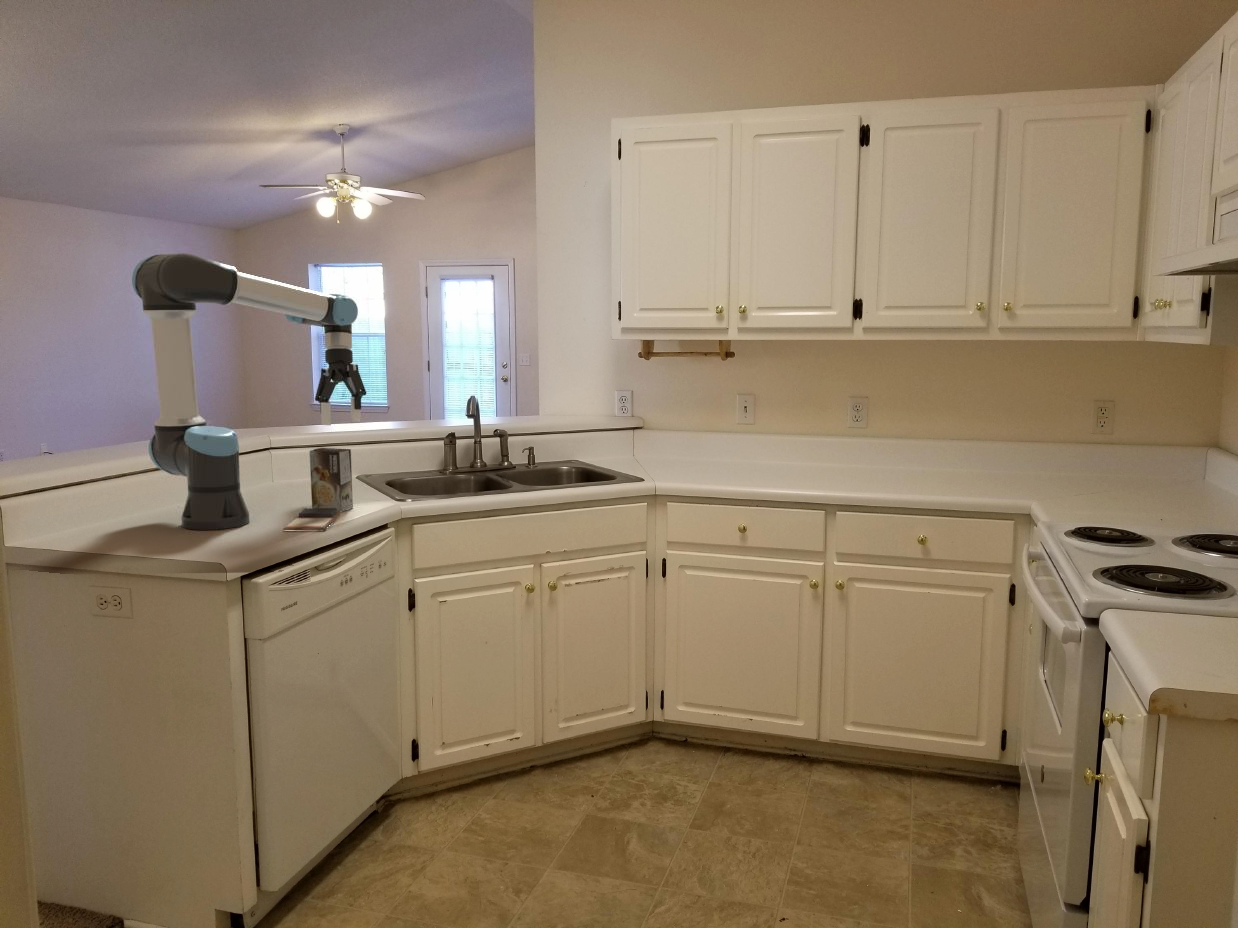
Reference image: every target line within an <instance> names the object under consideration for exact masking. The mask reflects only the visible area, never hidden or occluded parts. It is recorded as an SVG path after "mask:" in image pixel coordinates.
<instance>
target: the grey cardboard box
mask: <svg viewBox="0 0 1238 928" xmlns="http://www.w3.org/2000/svg"><path fill="white" fill-rule="evenodd" d="M351 451H352V449H351V448H335V447H334V448H333V447H332V448H330V447H319V448H315V449H311V450H309V467H310V468H309V469H310V472H309V473H310V489H311V490H310V491H311V492H310V494H311V508H337V512H340V511H343V512H345V511H348V510H350V509H349V508H351V509H353V508H354V502H353V475H352V452H351ZM352 507H353V508H352ZM347 509H348V510H347Z"/></svg>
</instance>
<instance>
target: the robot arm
mask: <svg viewBox="0 0 1238 928" xmlns="http://www.w3.org/2000/svg"><path fill="white" fill-rule="evenodd" d="M131 285H132V289H133V290H134V292H135V294H136V295H137V296H138V297H139V298H140V299H141V302H142V311H143V313H144V314H145V315H147V316H148V317H149V318H150V319H151V320H150V321H151V322H150V323H151V329H152V330H151V331H152V341H153V353H154V363H155V373H156V383H157V393H158V404H159V414H160V415H159V418H158V419H157V420H156V421H155V422H154V434H153V436H152V437H151V438H150V439H149V443H148V454H149V457H150V460H151V461H152V463H153V465H155V467H157V468H158V469H160V471H163V472H165V473H168V474H170V475H174V476H181V477H186V478H187V479H186V480H187V481H186V483H187V497H186V500H185V503H184V507H183V511H182V514H181V527H182V528H185V529H187V530H201V531H202V530H203V531H208V530H209V531H210V530H212V531H213V530H225V529H231V528H237V527H240V526H241V527H242V526H244V525H246V524H249V523H250V511H249V509H248V507H247V505H246V502H245V499H244V497H243V494H242V492H241V491H242V490H241V477H240V475H241V473H240V452H239V451H240V444H239V439H238V438H239V437H238V434H237V433H236V432H235V431H234V430H232V429H230V428H228V427H223V426H214V425H207V422H206V419H205V418H204V417H202V416H201V415H200V414H199V406H198V395H197V394H198V393H197V383H196V371H195V369H196V368H195V360H194V359H195V358H194V348H193V347H194V346H193V337H192V326H191V325H192V323H191V318H192V316H193V315H194V314H195V313H197V307H196V305H197V303H198V304H204V303H206V304H218V305H222V306H229V305H230V304H231V303H233V304H237V305H243V306H246V307H247V306H248V307H252V308H256V309H261V310H265V311H270V312H273V313H280V314H284V317H286V319H287V321H289V322H290V323H294V324H297V325H308V326H316V327H322V328H324V329H323V330H324V331H323V332H324V348H325V351H324V356H325V357H324V358H325V359H324V361H325V363H326V364H327V365H328V368H324V367H323V368H321V369H320V379H319V382H318V385H317V388H316V393H315V397H314V401H315V402H318V403H320V404H319V408H320V416H321V418H320V420H321V421H320V422H321V423H320V424H321V426H331V425H332V419H331V418H332V417H331V416H332V415H331V412H332V411H331V410H332V409H331V408H332V407H331V402H330V399H331V397H332V394H333V392H334V391H335V388H336V386H337V385H339V383H344V385H345V386H346V388H347V390H348V391H349V394H351V397H350V420H351V422H353V423H355V422H356V423H360V422H362V416H361V415H362V412H361V410H362V398H363V396H366V395H367V390H366V388H365V385H364V383H363V380H362V376H361V373H360V371H359V364H358V363H353V362H354V359H353V355H354V353H353V350H352V348H353V330H352V327H353V326H352V325H353V323H355V321H356V320H357V317H358V315H359V310H358V309H359V308H358V306H357V303H356V302H355V300H354V299H353V298H350V297H349V296H348V295H346V294H337V293H330V294H327V293H324V292H323V293H322V292H319V291H315V290H312V289H306V288H303V287H299V286H295V285H292V284H287V283H284V282H283V283H282V282H280V281H275V280H272V279H268V278H263V277H259V276H255V275H252V274H247V273H243V272H240V271H238V269H236V267H235V266H232V265H229V264H226V263H221V262H219V261H215V260H212V259H208V258H206V257H202V256H199V255H196V254H191V253H185V252H184V253H180V252H179V253H169V254H167V253H165V254H164V253H163V254H161V253H160V254H154V255H151V256H148V257H145V258H143V259H142V260H140V261H139V262H138V263H137V264H136V265H135V267H134V270H133V271H132V275H131Z"/></svg>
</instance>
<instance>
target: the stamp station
mask: <svg viewBox="0 0 1238 928" xmlns="http://www.w3.org/2000/svg"><path fill="white" fill-rule="evenodd" d="M341 513H342V512H340V511H337V508H312V507H310V508H308V507H307V508H306V507H305V508H303V509H302V510H301V511H300V512H299V513H298V515H297V516H296V517H295V518H294V519H293V520H291V521H290V522H289V523H287V524H286V525H285V526H284V527H283V528H282V529H283V530H326V529H327V527H329V525H331V524H332V523H333V522H334V521H335V520H336V519H337V518H338V517H339V516H340V515H342V514H341ZM340 517H341V516H340ZM340 517H339V518H340ZM339 518H338V519H339ZM338 519H337V520H338ZM337 520H336V521H337ZM336 521H335V522H336ZM333 524H334V523H333ZM333 524H332V525H333ZM329 528H330V527H329ZM283 530H282V531H283ZM327 530H328V529H327ZM327 530H326V531H327Z"/></svg>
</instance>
